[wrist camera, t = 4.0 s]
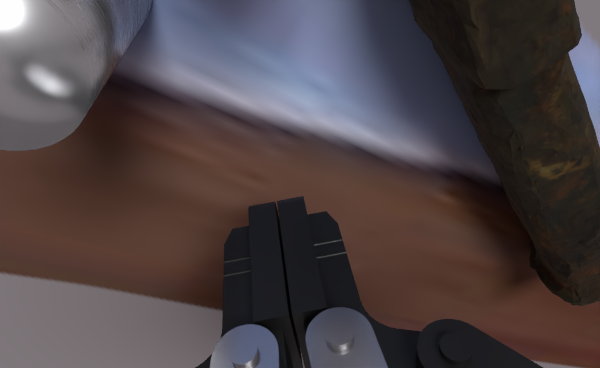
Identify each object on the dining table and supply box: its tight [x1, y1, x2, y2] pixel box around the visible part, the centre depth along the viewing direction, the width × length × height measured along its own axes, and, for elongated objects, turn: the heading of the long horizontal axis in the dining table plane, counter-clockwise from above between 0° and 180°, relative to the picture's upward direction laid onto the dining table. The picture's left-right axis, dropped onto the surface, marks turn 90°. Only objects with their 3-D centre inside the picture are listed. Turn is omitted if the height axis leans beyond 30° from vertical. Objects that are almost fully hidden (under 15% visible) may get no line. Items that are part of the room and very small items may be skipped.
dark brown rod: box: [409, 0, 600, 306], centre depth 13 cm, size 19×4×5 cm, turn 34°
